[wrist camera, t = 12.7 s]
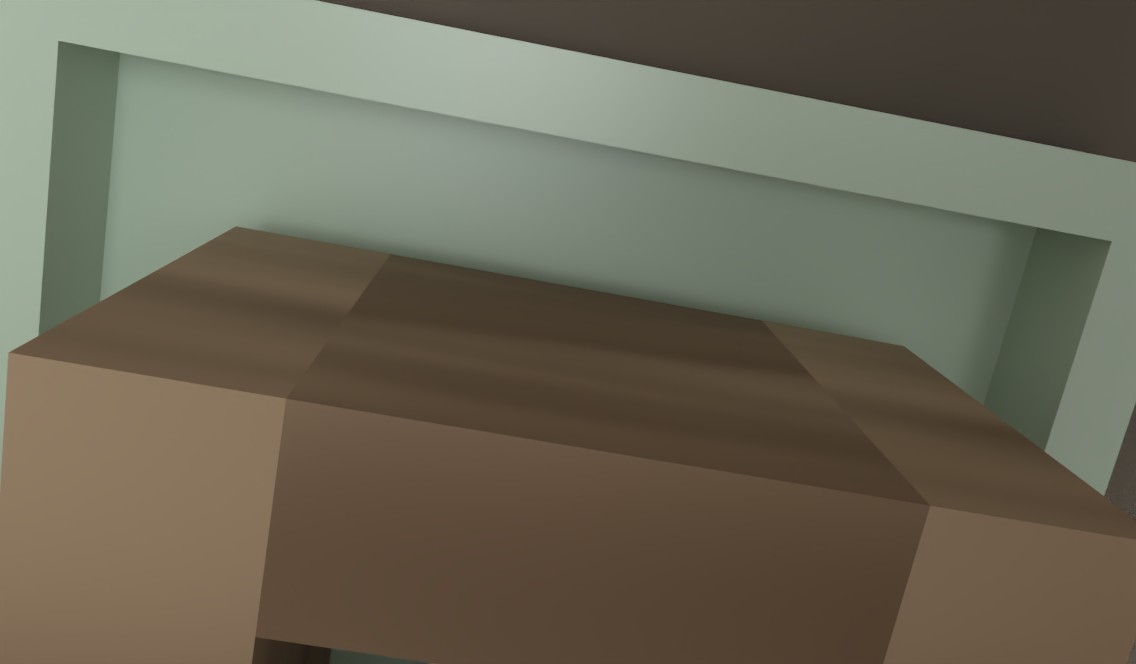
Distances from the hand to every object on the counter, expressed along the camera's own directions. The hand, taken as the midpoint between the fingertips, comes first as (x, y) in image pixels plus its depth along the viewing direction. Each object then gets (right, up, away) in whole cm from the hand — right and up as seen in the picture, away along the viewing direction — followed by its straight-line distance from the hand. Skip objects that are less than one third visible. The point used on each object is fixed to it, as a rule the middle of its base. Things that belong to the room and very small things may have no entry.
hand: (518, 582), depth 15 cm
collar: (0, 0, 0) cm, 0 cm away
